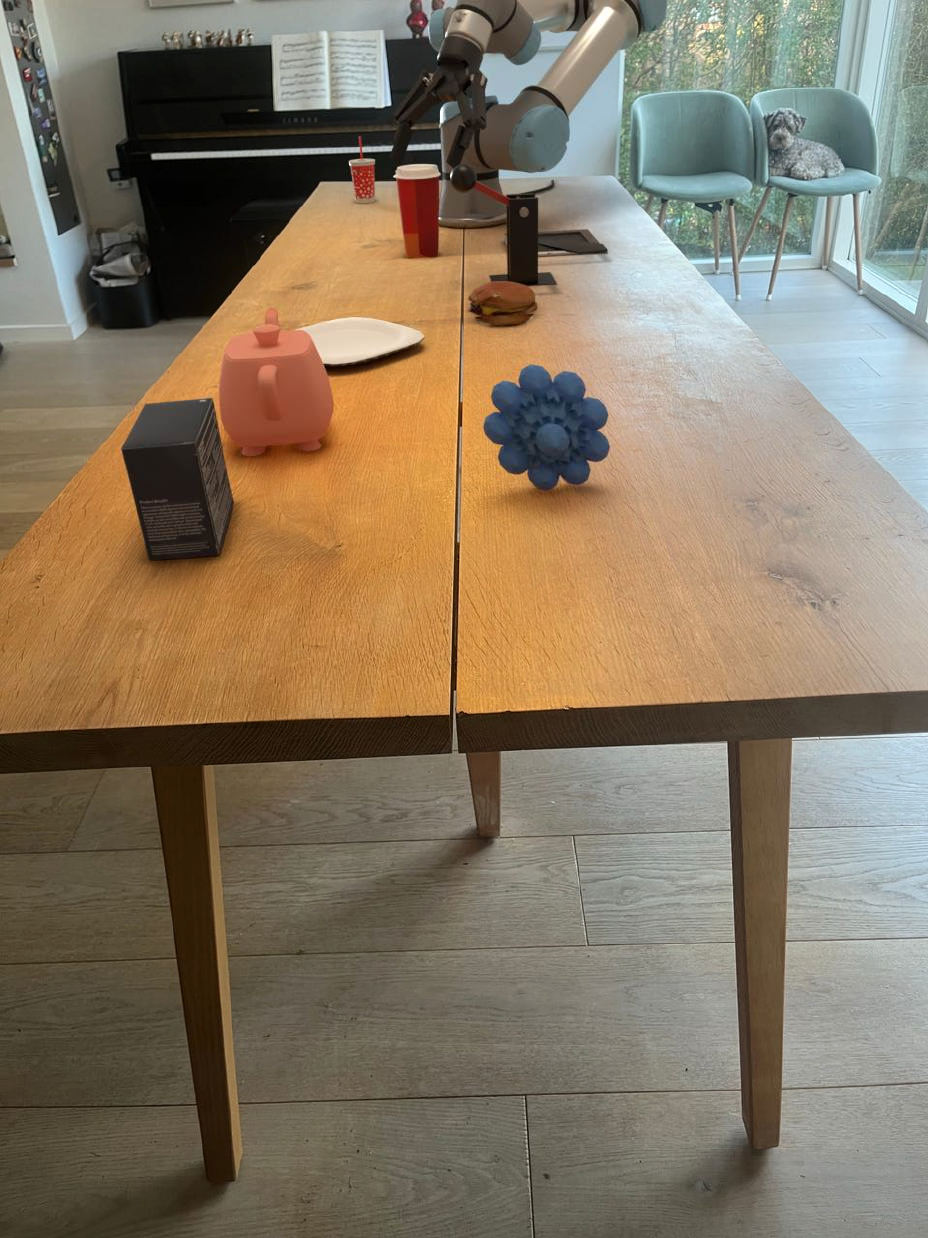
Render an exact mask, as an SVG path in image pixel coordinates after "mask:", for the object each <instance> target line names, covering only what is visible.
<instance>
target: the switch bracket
mask: <svg viewBox="0 0 928 1238" xmlns="http://www.w3.org/2000/svg"><path fill="white" fill-rule="evenodd" d="M505 196H506V197H508V198H510V199H509V206H507V205H506V219H507V221H506V233H507V246H506V273H503V274H489V275H488V277H489V279H490V282H494V281H508V282H515V283H520V284H523V285H526V286H527V287H538V286H539V287H540V286H557V285H558V283H557V281H556V280H555V278H554V276H553V274H552V272H551V271H544V272H539V257H538V254H539V252H538V232H539V197H536V194H535V193H526V194H519V193H508V194H506V195H505ZM517 196H518V197H520V198H516V197H517Z"/></svg>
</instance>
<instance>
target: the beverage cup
mask: <svg viewBox="0 0 928 1238" xmlns="http://www.w3.org/2000/svg"><path fill="white" fill-rule="evenodd" d="M358 143H359V154H360V155H359V156H360V158H356V159H350V160H348V165H349V167H350V173H351V179H352V186H353V187H352V188H353V193H354V198H355V203H356V204H372V203H375V202H376V184H375V183H376V181H375V180H376V178H375V164H376V159H374V158H364V157H363V155H364V154H363V146H362V145H363V144H362V143H363V142H362V136H361V135H360V136H358Z"/></svg>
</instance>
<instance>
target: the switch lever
mask: <svg viewBox="0 0 928 1238" xmlns="http://www.w3.org/2000/svg"><path fill="white" fill-rule="evenodd" d="M450 181H451V184H452V186H453V188H454V189H455V190H456V191H458V192H460V193H467V192H469V191H471V190H472V189H473V188H474V189H476V190H478V191H480V192H482V193H484V194H486V195H488V196H490V197H492V198H494V199H496V200H497V201H499V202H501V203H503V204H505V205H507V206H509V199H510V198H508V197H506V195H504V193H503V194H501V193H499V192H497V191H495V190H493V189H491V188H489V187H487V186H485V185H483V184H481V183H480V182H478V181H477V175H476V172H475V170H474V169H473V168H472V167H471V166H469V165H467V164H460V165H458V166H456V167H455V168H454V169H453V171H452V173H451V176H450ZM516 198H520V197H518V196H517V197H516Z"/></svg>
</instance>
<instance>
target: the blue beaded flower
mask: <svg viewBox="0 0 928 1238" xmlns="http://www.w3.org/2000/svg"><path fill="white" fill-rule="evenodd" d="M517 381H518V384H517V383H516V382H513V381H509V380H502V381H500V382H498V383H497V384H495V385H493V387H492V391H491V395H490V399H491V402H492V405H493V406H494V407H495V409H497V410H498V411H493V412H492V413H489V414H488V415H487V416H486V417H485V419H484V422H483V427H482V428H483V429H482V430H483V432H484V435H485V436H486V438H487V439H488V440H490V441H491V442H492V444H494V445H498V446H500V447H499V451H498V454H497V459H498V463H499V466H501V468H502V469H504V471H505V472H507V473H508V474H512V475H517V476H518V475H522V474H524V473H525V472H526V475H527V478H528V481H529V482H530V483H531V484H532V485H533V486H534V487H535V488H536V489H539V490H542V491H549V490H552V489H554V488H556V486H558V483H559V480H560V477H561V478H562V480H563V481H565V482H566V483H567V484H569V485H573V486H580V485H583V484H584V483H586V482H587V481H588V480H589V478H590V474H591V471H592V469H591V466H590V463H589V462H592V463H599V462H601V461H603V460H605V459H606V458H607V457H608V454H609V452H610V449H611V445H610V443H609V440H608V438H607V437H606V435H605V434H604V433H603V432H602V431H600V430H601V429H603V428H604V427H605V426H606V424H607V421H608V419H609V412H608V409H607V407H606V404H605V403H603V402H602V401H601V400H600V399H599V398H595V397H590V396H586V397H585V394H586V391H587V389H586V384H585V381H584V380H583V379H582V377H581V376H579V375H578V373H576V372H572V371H567V370H563V371H561V372H559V373H557V374H556V375H555V376H554V378H552V376H551V374H550V372H549V371H548V370H547V369H546V368H545V367H544V366H542V365H539V364H538V365H537V364H532V363H531V364H530V363H529V364H528V365H527V366H525V367H523V368H522V369H521V370H520V373H519V376H518V380H517Z"/></svg>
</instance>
